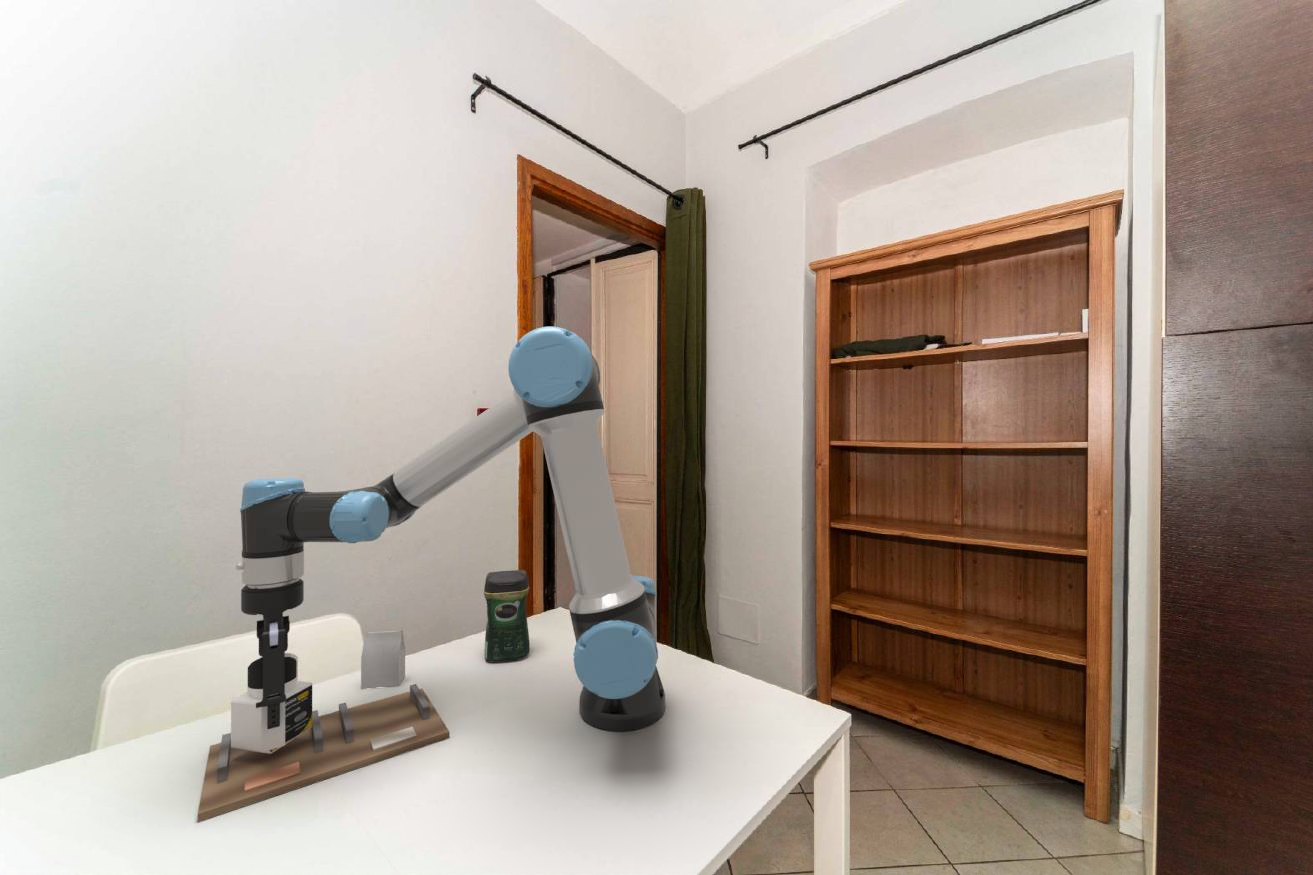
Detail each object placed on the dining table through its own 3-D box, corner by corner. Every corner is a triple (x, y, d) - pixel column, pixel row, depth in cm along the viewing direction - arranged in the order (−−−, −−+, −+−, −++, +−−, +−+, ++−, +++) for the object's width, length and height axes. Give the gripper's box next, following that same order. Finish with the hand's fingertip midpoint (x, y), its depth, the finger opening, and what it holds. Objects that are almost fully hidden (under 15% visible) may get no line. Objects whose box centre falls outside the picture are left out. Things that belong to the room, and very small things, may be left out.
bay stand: (449, 737, 82) (449, 718, 82) (197, 822, 64) (197, 797, 64) (422, 693, 96) (422, 677, 96) (210, 752, 78) (210, 732, 78)
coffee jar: (529, 646, 118) (529, 565, 118) (530, 660, 111) (530, 574, 111) (484, 650, 116) (485, 568, 116) (482, 665, 108) (482, 577, 108)
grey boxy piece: (398, 686, 99) (399, 634, 99) (361, 689, 98) (361, 636, 98) (405, 677, 103) (405, 627, 103) (368, 680, 102) (368, 629, 102)
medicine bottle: (270, 755, 73) (270, 670, 73) (229, 749, 74) (229, 665, 74) (313, 727, 80) (313, 650, 80) (275, 722, 81) (275, 646, 81)
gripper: (243, 570, 84) (243, 708, 84) (237, 605, 66) (237, 780, 66) (299, 563, 88) (299, 694, 88) (308, 594, 71) (308, 758, 70)
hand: (272, 730), depth 77 cm, fingers closed on medicine bottle, 10 cm apart
